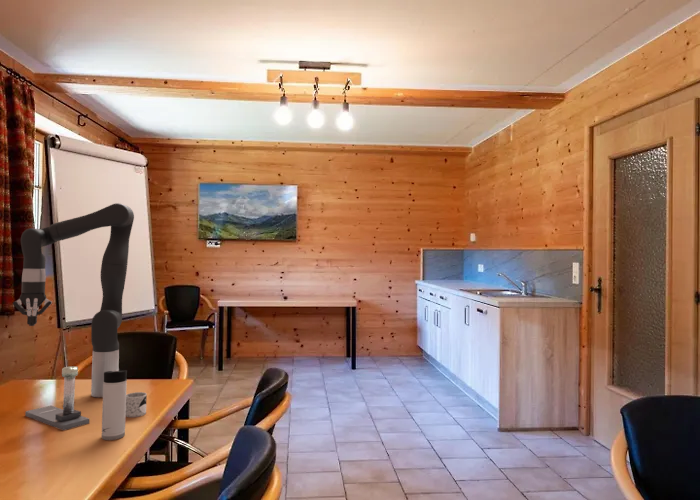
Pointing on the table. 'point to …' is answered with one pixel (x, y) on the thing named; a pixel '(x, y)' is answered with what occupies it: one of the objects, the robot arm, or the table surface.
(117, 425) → the travel mug
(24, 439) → the table surface
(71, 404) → the fader
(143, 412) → the mug
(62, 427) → the fader panel
